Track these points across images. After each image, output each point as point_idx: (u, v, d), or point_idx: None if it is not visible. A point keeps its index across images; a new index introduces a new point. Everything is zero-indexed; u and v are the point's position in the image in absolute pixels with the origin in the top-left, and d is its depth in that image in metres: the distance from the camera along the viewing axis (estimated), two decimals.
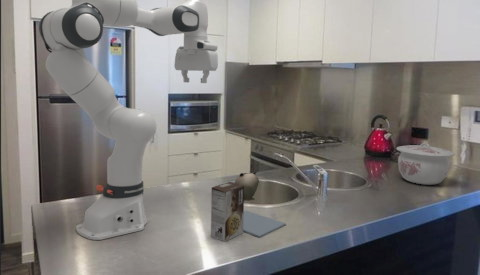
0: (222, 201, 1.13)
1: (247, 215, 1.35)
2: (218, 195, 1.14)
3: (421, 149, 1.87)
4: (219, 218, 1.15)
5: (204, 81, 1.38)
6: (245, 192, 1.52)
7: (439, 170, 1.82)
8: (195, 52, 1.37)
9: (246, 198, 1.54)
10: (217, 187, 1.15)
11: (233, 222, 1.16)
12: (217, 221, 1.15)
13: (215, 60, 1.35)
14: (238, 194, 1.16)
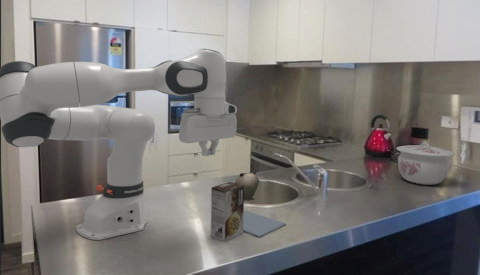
0: (222, 201, 1.13)
1: (247, 215, 1.35)
2: (218, 195, 1.14)
3: (421, 149, 1.87)
4: (219, 218, 1.15)
5: None
6: (245, 192, 1.52)
7: (439, 170, 1.82)
8: (220, 117, 1.07)
9: (246, 198, 1.54)
10: (217, 187, 1.15)
11: (233, 222, 1.16)
12: (217, 221, 1.15)
13: None
14: (238, 194, 1.16)
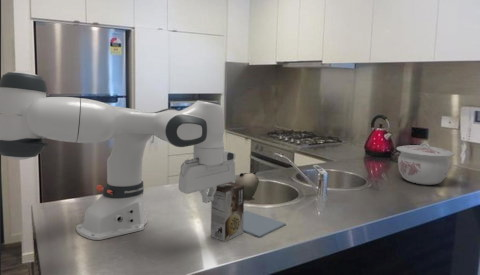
0: (222, 201, 1.13)
1: (247, 215, 1.35)
2: (218, 195, 1.14)
3: (421, 149, 1.87)
4: (219, 218, 1.15)
5: None
6: (245, 192, 1.52)
7: (439, 170, 1.82)
8: (219, 165, 1.09)
9: (246, 198, 1.54)
10: (217, 187, 1.15)
11: (233, 222, 1.16)
12: (217, 221, 1.15)
13: None
14: (238, 194, 1.16)
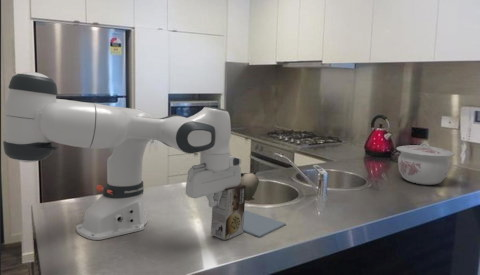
0: (224, 199, 1.13)
1: (247, 215, 1.35)
2: None
3: (421, 149, 1.87)
4: (220, 216, 1.15)
5: None
6: (245, 192, 1.52)
7: (439, 170, 1.82)
8: (225, 170, 1.12)
9: (246, 198, 1.54)
10: None
11: (233, 221, 1.16)
12: (218, 219, 1.15)
13: None
14: (239, 193, 1.17)
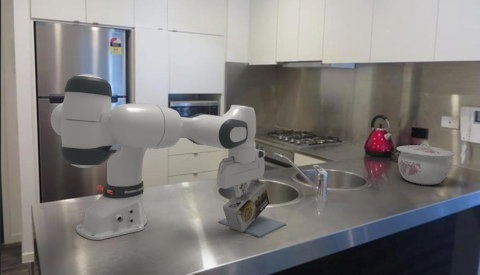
0: (256, 187, 1.26)
1: None
2: (254, 184, 1.28)
3: (421, 149, 1.87)
4: (243, 196, 1.23)
5: None
6: None
7: (439, 170, 1.82)
8: (251, 162, 1.21)
9: None
10: None
11: (249, 209, 1.22)
12: (239, 198, 1.23)
13: None
14: (264, 200, 1.28)
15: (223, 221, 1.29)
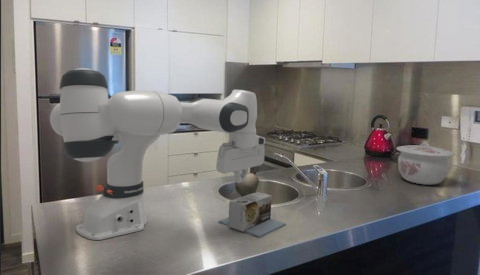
0: (263, 196, 1.30)
1: None
2: (261, 194, 1.32)
3: (421, 149, 1.87)
4: (250, 198, 1.26)
5: None
6: (245, 192, 1.52)
7: (439, 170, 1.82)
8: None
9: None
10: None
11: (253, 211, 1.24)
12: (246, 199, 1.26)
13: None
14: (267, 212, 1.31)
15: (223, 221, 1.29)
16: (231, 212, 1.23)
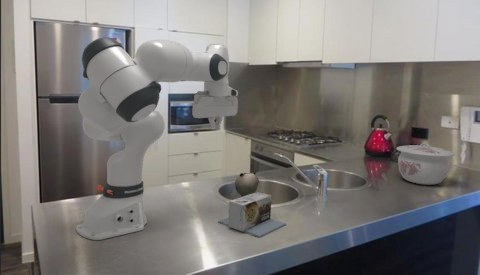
0: (263, 196, 1.30)
1: None
2: (261, 194, 1.32)
3: (421, 149, 1.87)
4: (250, 198, 1.26)
5: None
6: (245, 192, 1.52)
7: (439, 170, 1.82)
8: (224, 99, 1.35)
9: None
10: None
11: (253, 211, 1.24)
12: (246, 199, 1.26)
13: None
14: (267, 212, 1.31)
15: (223, 221, 1.29)
16: (231, 212, 1.23)
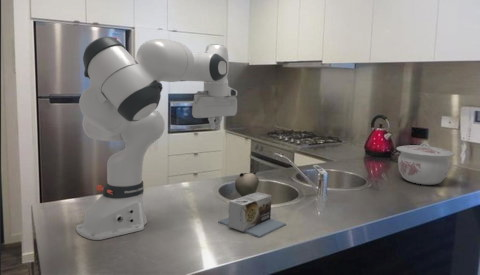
0: (263, 196, 1.30)
1: None
2: (261, 194, 1.32)
3: (421, 149, 1.87)
4: (250, 198, 1.26)
5: None
6: (245, 192, 1.52)
7: (439, 170, 1.82)
8: (224, 99, 1.35)
9: None
10: None
11: (253, 211, 1.24)
12: (246, 199, 1.26)
13: None
14: (267, 212, 1.31)
15: (223, 221, 1.29)
16: (231, 212, 1.23)
